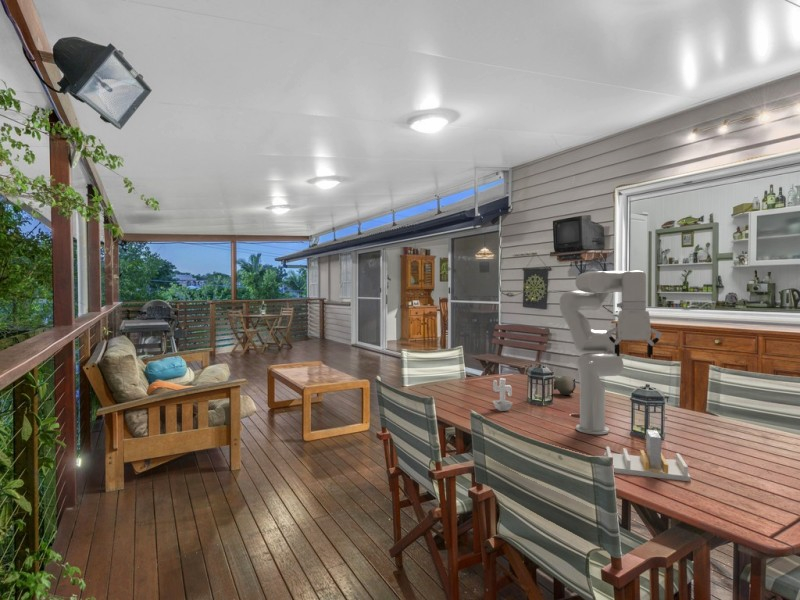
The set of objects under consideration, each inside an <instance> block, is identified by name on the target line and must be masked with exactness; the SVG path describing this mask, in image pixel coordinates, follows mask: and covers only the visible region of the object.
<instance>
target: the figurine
mask: <svg viewBox="0 0 800 600" xmlns="http://www.w3.org/2000/svg"><path fill="white" fill-rule="evenodd" d="M506 380H507V379H506V378H503V377H499V383H498V381H497V379H494V380H493V381H492V390H493V391H494V392H495V393H498V392H499V399H498V400H492V403H493V405H494V407H495V409H496V410H498V411H500V412H504V411H505V412H507V411H510V409H511V408H512V406H513V405H514V403H513V402H511V401H509V400H507V399H506V392H507V396H508V397H512V395H513V388H512V386H511V384H506ZM498 384H499V385H498Z"/></svg>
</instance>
